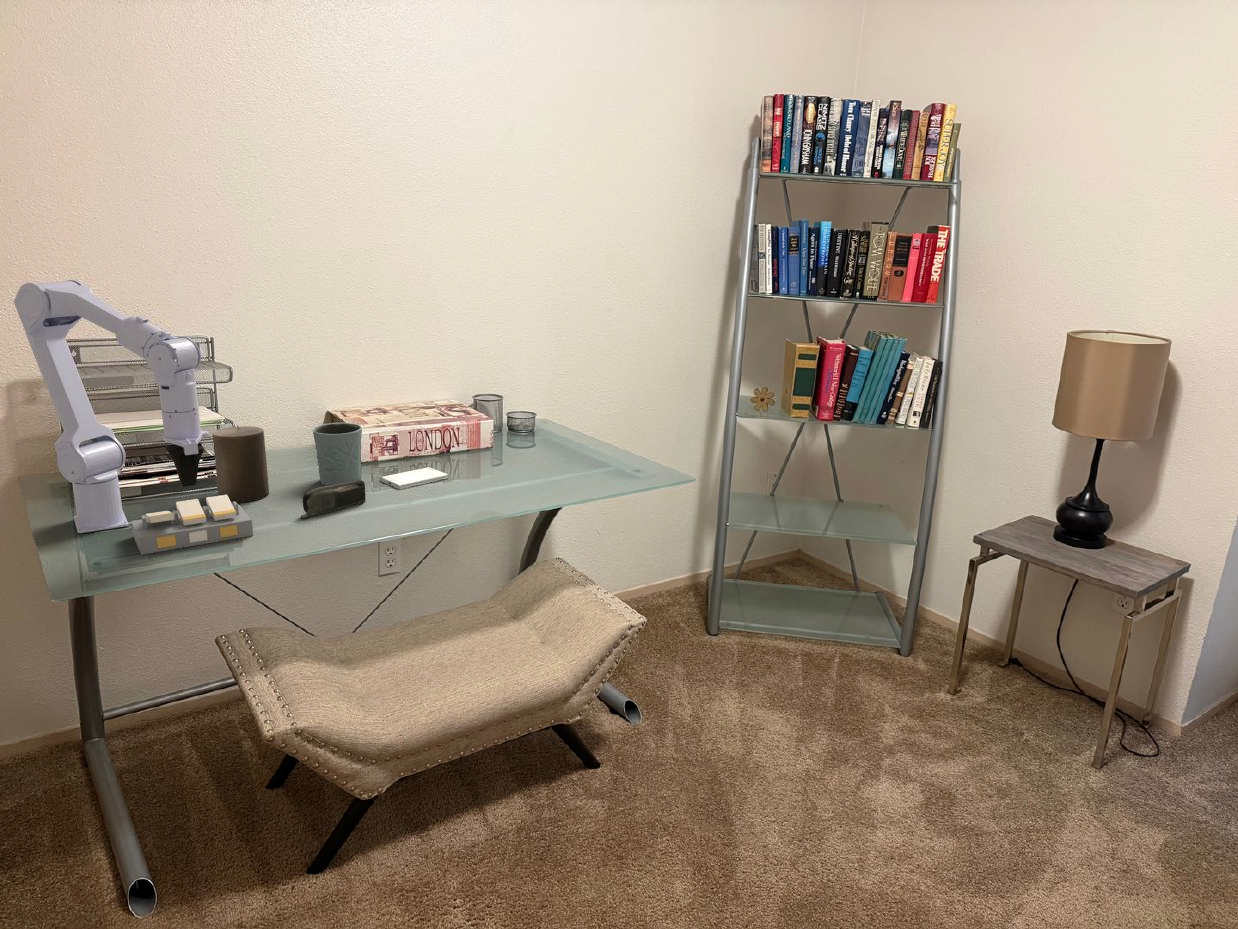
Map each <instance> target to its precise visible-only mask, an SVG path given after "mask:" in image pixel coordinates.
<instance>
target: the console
mask: <svg viewBox="0 0 1238 929" xmlns="http://www.w3.org/2000/svg"><path fill="white" fill-rule="evenodd" d="M232 505H233V507H234V509H235V511H236V517H235V518H229V519H222V520H216V521H215V520H214V518H213V516H212V513H211V511H210V509H209V507H208V505H203V506H202V509H203V512H204V514H205V516H206V522H204V523H197V524H191V525H185V526H184V524H183V522H182V520H181V517H180V515H179V512H178V510H177V509H176V510H172V513H173V514H174V520H168V521H161V522H155V523H150V522H149V521H148V520H146V514H142V515H141V519H135V520H134V519H133V520H131V527H132V528H131V529H132V536H133V539H134V541H135V544H136V546H137V549H138V551H139V553H140V555H147V554H154V552H155V553H160V552H165V551H171V550H177V548H178V549H183V547H184V548H190V547H194V546H201V545H205V544H207V545H208V544H210V543H218V542H223V541H228V540H235V539H241V538H242V539H243V538H247V537H252V536H254V531H253V529H254V528H253V520H252V518H251V517H250V516H249V514H247V512H246V511H245V510H244V509H243V508H242V506H241V505H240V504H238V502H236V501H235V502H232Z"/></svg>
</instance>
